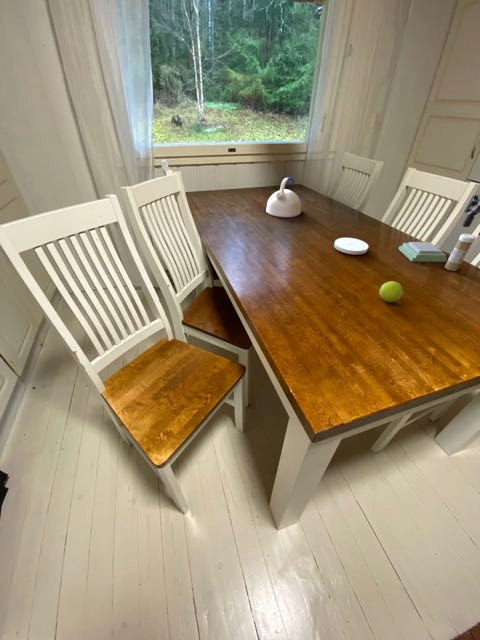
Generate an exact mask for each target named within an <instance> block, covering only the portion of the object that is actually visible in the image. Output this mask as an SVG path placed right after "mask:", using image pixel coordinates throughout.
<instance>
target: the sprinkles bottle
mask: <svg viewBox="0 0 480 640" xmlns="http://www.w3.org/2000/svg"><path fill="white" fill-rule="evenodd" d="M476 238H477V237H476V236H475V235H473V234H470V233H462V234H460V236H459V238H458V241H457V242H456V245H455V246H454V247H453V250H452V251H451V253H450V255H449V257H448V258H447V260H446V262H445V265H444V269H446V270H447V271H451V272H456V271H458V270H459V267H460V266H461V264H462V263H463V261H464V260H465V257H466V256H467V254H468V253H469V249H470V248H471V247H472V244H473V243H475V241H476Z"/></svg>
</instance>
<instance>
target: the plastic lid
mask: <svg viewBox="0 0 480 640" xmlns="http://www.w3.org/2000/svg"><path fill="white" fill-rule="evenodd" d="M333 247H334V248H335V249H336V250H337V251H339V252H341V253H345V254H349V255H363V254H366V253H367V252H368V249H369V245H368V243H366V242H365V241H364V240H361V239H358V238H353V237H339V238H337V239H335V240H334V244H333Z"/></svg>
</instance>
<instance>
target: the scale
mask: <svg viewBox="0 0 480 640" xmlns="http://www.w3.org/2000/svg"><path fill="white" fill-rule="evenodd" d="M408 244H409V242H403V243H402V245H399V246H398V250H399V251H400V252H401V254H403V255H404V256H405V257H406V258H407V259H408V260H409V261H410V262H411V263H417V262H418V263H447V261H448V258H447V254H445V253H444V252H443V251H442V252H441V254H418V253H417V252H416V251H415V250H414V249H413V248H411V247H410V246H409V245H408Z"/></svg>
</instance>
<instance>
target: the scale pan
mask: <svg viewBox="0 0 480 640" xmlns="http://www.w3.org/2000/svg"><path fill="white" fill-rule="evenodd" d="M408 243H409V244H408V245H409V246H410V247H411V248H413V249H414V250H415V251H416V252H417V253H418V254H441V252H443V251H442V250H441V249H440V248H438V246H436V245H434V244H433V243H432V242H430V241H409V242H408Z"/></svg>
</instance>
